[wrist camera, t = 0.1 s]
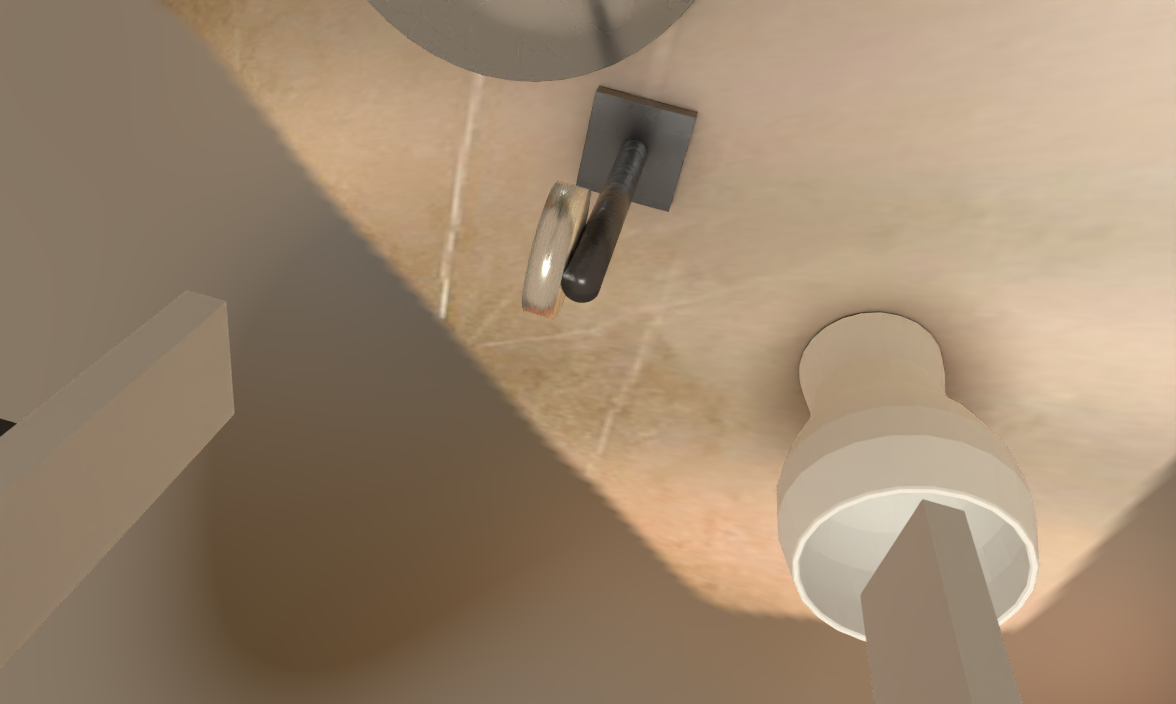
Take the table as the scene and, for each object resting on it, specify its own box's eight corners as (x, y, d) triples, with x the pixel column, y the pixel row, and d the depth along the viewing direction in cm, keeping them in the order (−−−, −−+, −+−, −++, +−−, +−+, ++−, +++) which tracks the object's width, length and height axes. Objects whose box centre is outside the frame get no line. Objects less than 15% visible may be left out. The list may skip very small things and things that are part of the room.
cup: (849, 469, 49) (879, 684, 36) (735, 360, 46) (725, 553, 33) (1010, 380, 43) (1110, 597, 31) (893, 250, 40) (951, 431, 28)
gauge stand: (599, 86, 39) (519, 208, 26) (697, 112, 38) (665, 248, 26) (579, 179, 41) (498, 331, 29) (670, 204, 41) (629, 368, 28)
